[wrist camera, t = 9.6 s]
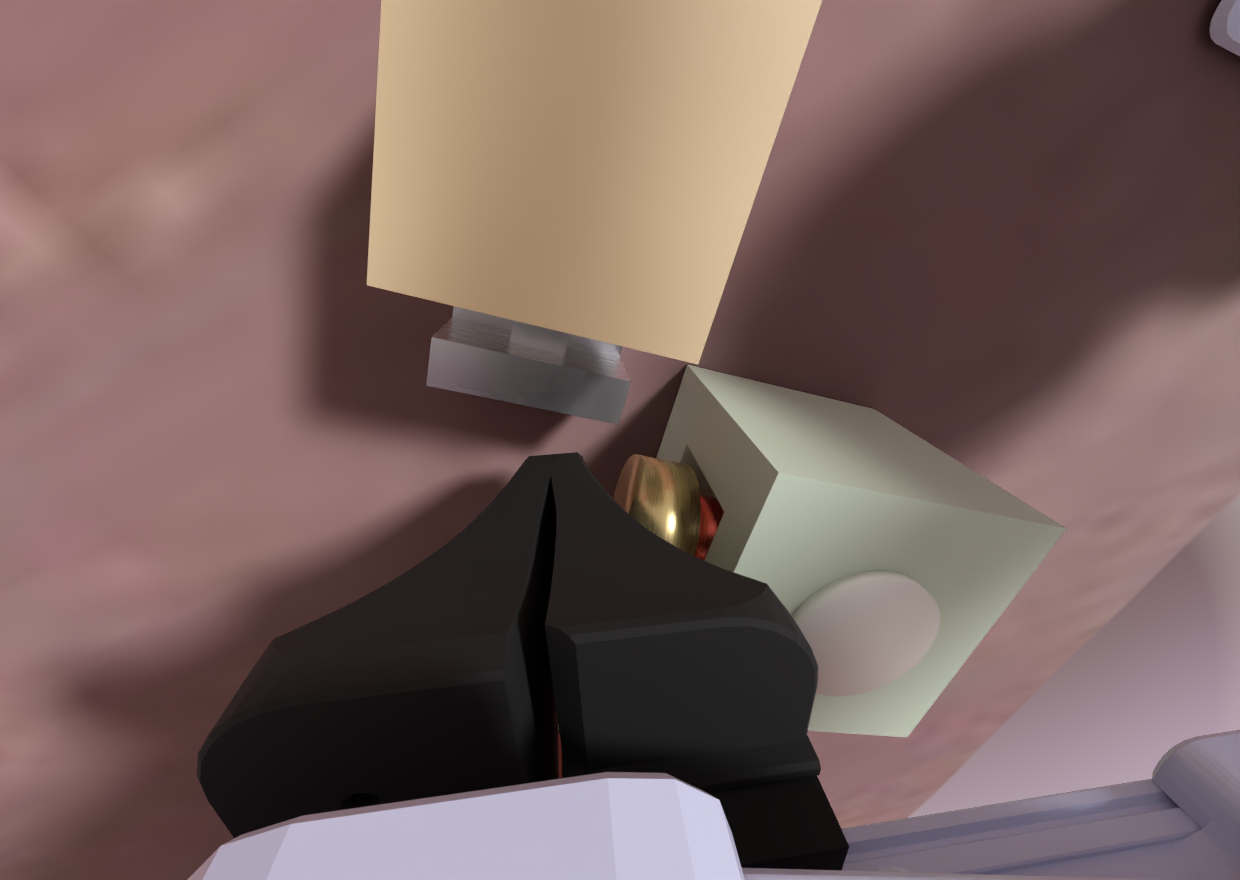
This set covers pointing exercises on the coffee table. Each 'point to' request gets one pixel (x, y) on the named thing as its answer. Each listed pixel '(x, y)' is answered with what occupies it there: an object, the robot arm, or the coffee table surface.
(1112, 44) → the coffee table surface
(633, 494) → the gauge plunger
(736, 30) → the carriage
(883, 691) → the cabinet
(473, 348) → the rail
